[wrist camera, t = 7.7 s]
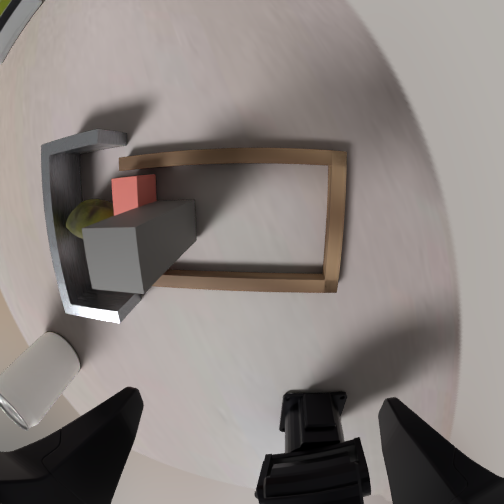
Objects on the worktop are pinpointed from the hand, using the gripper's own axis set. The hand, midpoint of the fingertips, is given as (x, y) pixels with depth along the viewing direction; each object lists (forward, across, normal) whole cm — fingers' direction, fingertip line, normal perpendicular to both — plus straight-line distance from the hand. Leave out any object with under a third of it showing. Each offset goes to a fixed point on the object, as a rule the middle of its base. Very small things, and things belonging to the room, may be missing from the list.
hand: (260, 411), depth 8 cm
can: (+13, +25, +12) cm, 31 cm away
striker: (+13, +8, -4) cm, 15 cm away
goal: (+13, +14, -4) cm, 20 cm away
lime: (+13, +13, -4) cm, 19 cm away
